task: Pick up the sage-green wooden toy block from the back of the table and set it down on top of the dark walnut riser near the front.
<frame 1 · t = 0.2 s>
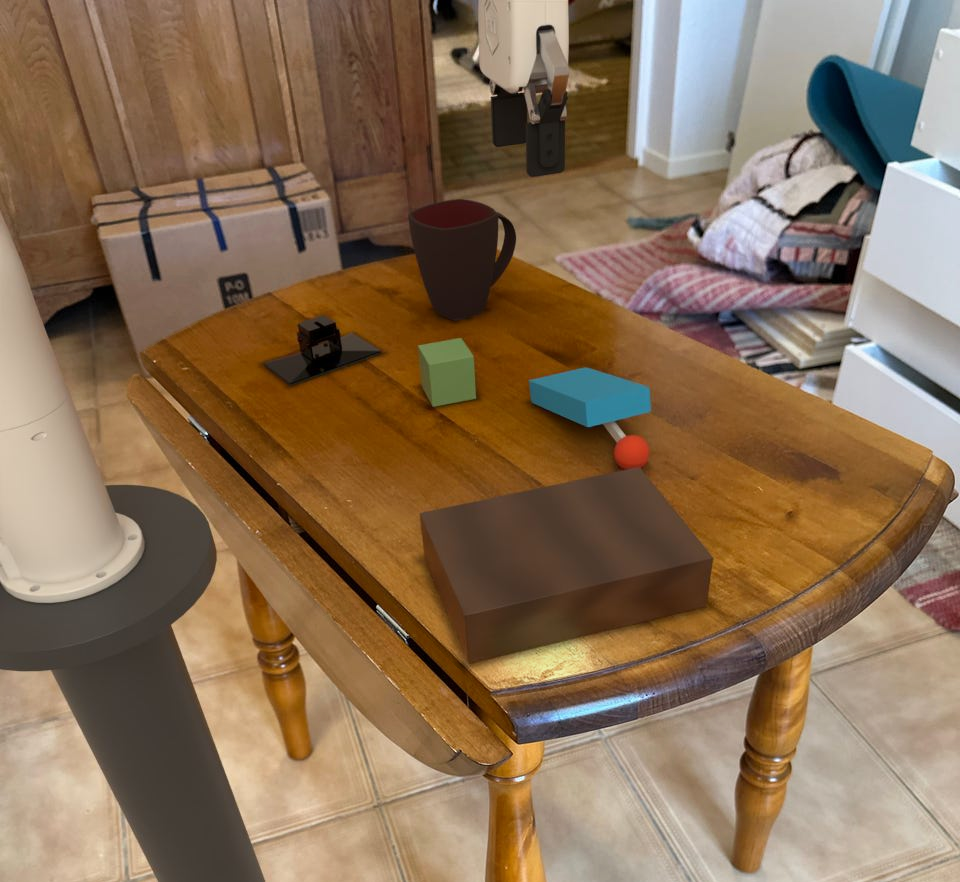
hand: (527, 158, 81), 26 cm above the table, tool pointing down, fingers open, 9 cm apart
cup: (471, 307, 121), on the table
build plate: (323, 360, 112), on the table
walnut riser: (559, 582, 78), on the table
lever: (595, 433, 96), on the table
green toy block: (448, 392, 104), on the table
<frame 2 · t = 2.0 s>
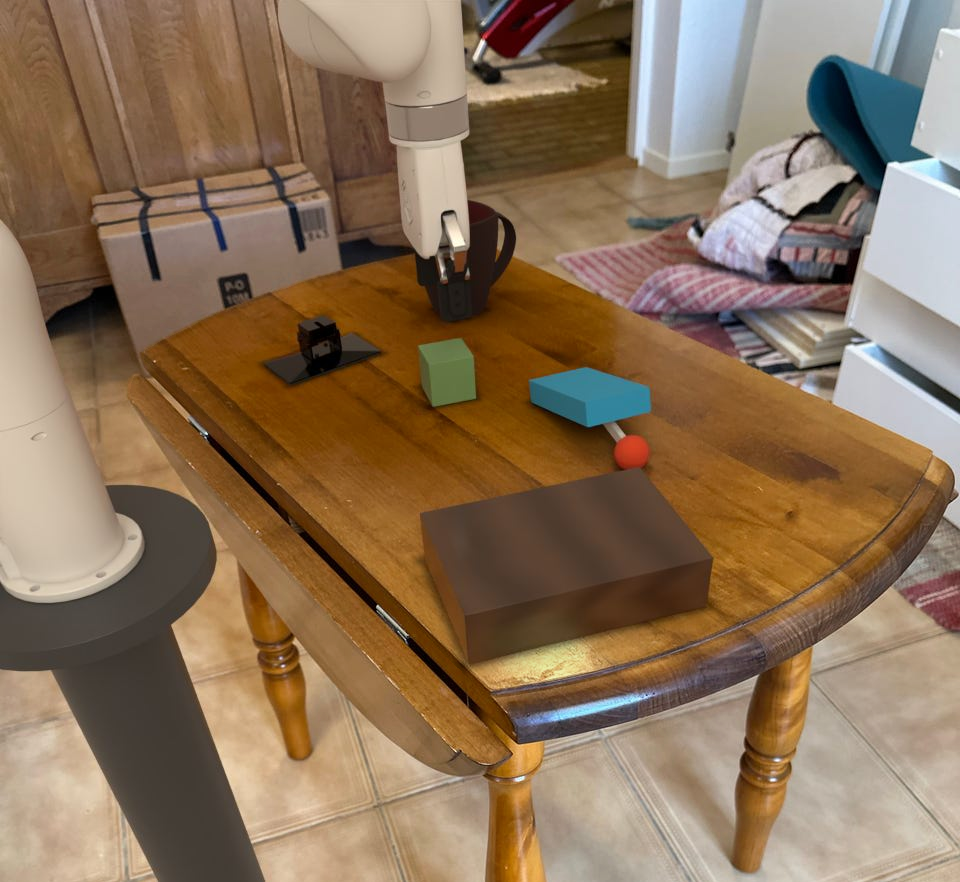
hand: (444, 300, 97), 10 cm above the table, tool pointing down, fingers open, 9 cm apart
nothing on the table moved.
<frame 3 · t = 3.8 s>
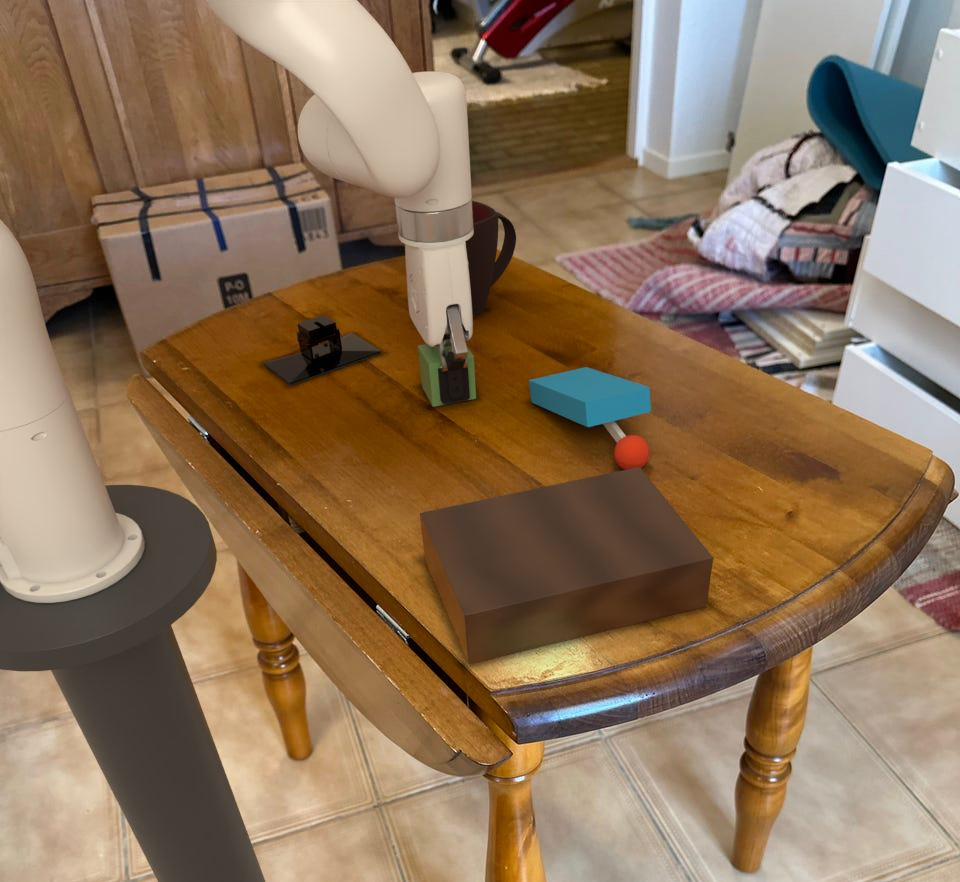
hand: (448, 387, 103), 1 cm above the table, tool pointing down, fingers closed on green toy block, 5 cm apart
green toy block: (448, 392, 104), on the table, touching gripper
everything else where it was.
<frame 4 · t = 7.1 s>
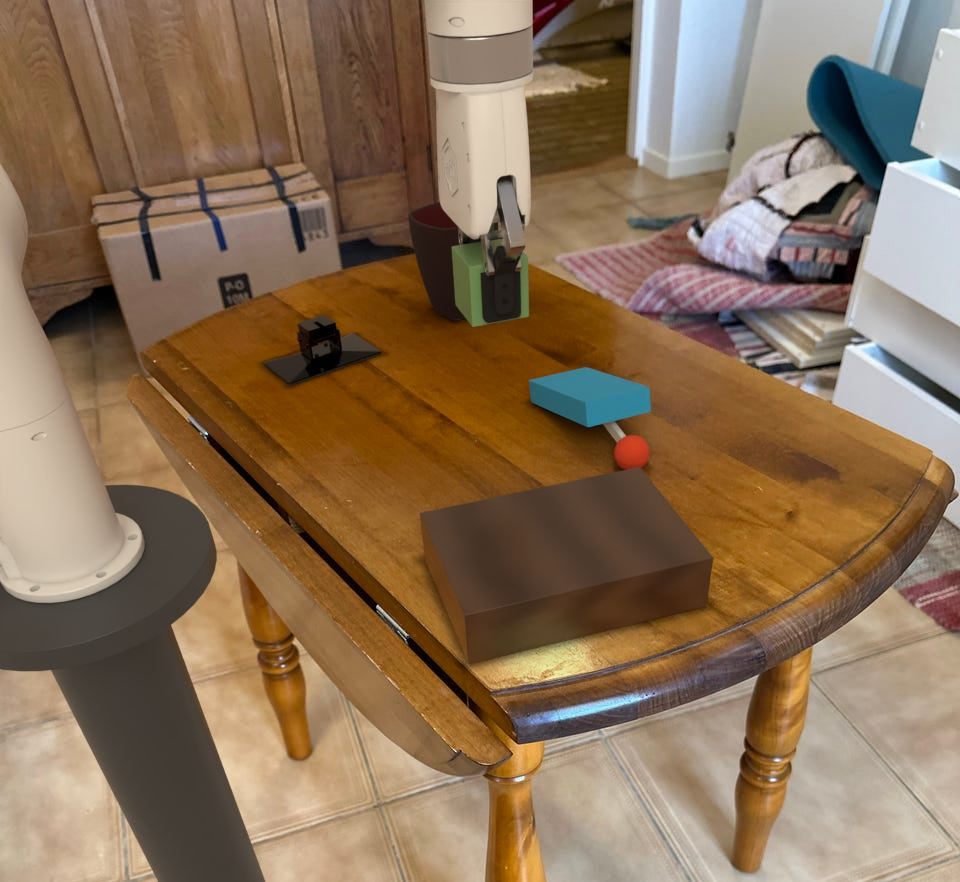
hand: (490, 303, 79), 17 cm above the table, tool pointing down, fingers closed on green toy block, 5 cm apart
green toy block: (491, 311, 79), point 17 cm above the table, touching gripper
everything else where it was.
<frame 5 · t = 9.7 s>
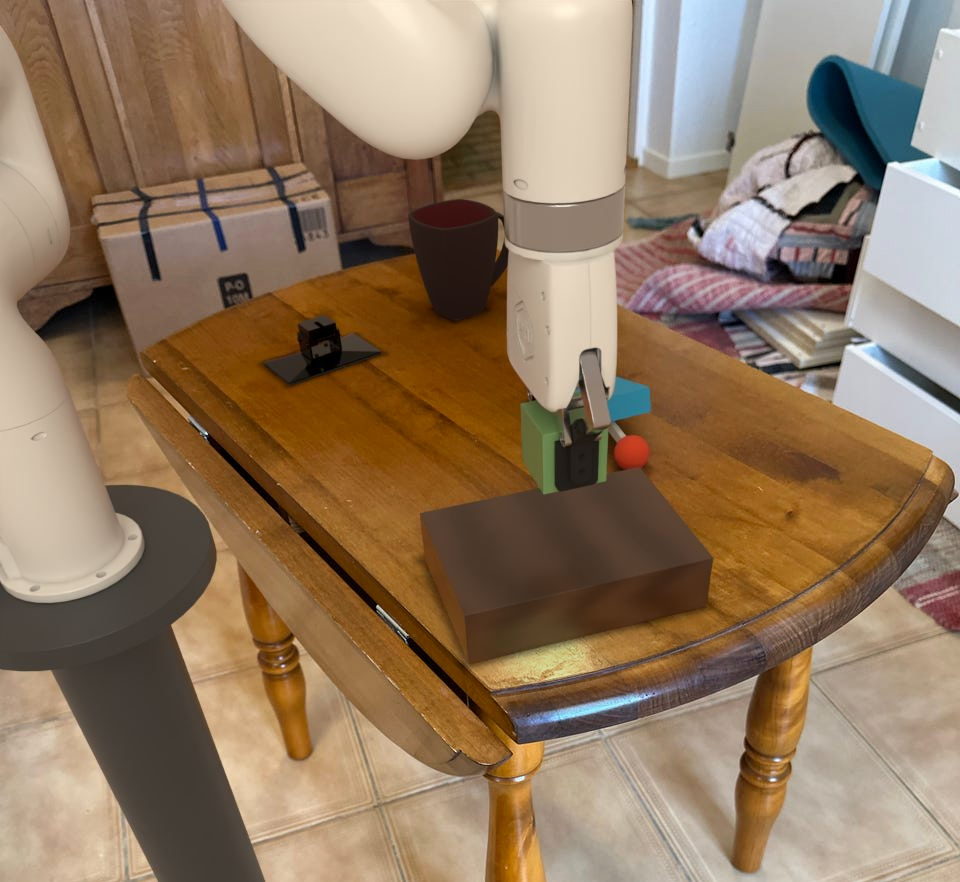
hand: (562, 464, 70), 12 cm above the table, tool pointing down, fingers closed on green toy block, 5 cm apart
green toy block: (563, 471, 71), point 11 cm above the table, touching gripper
everything else where it was.
when the fingers open (6 cm above the table, at t = 11.6 s): green toy block stays where it is, resting on walnut riser.
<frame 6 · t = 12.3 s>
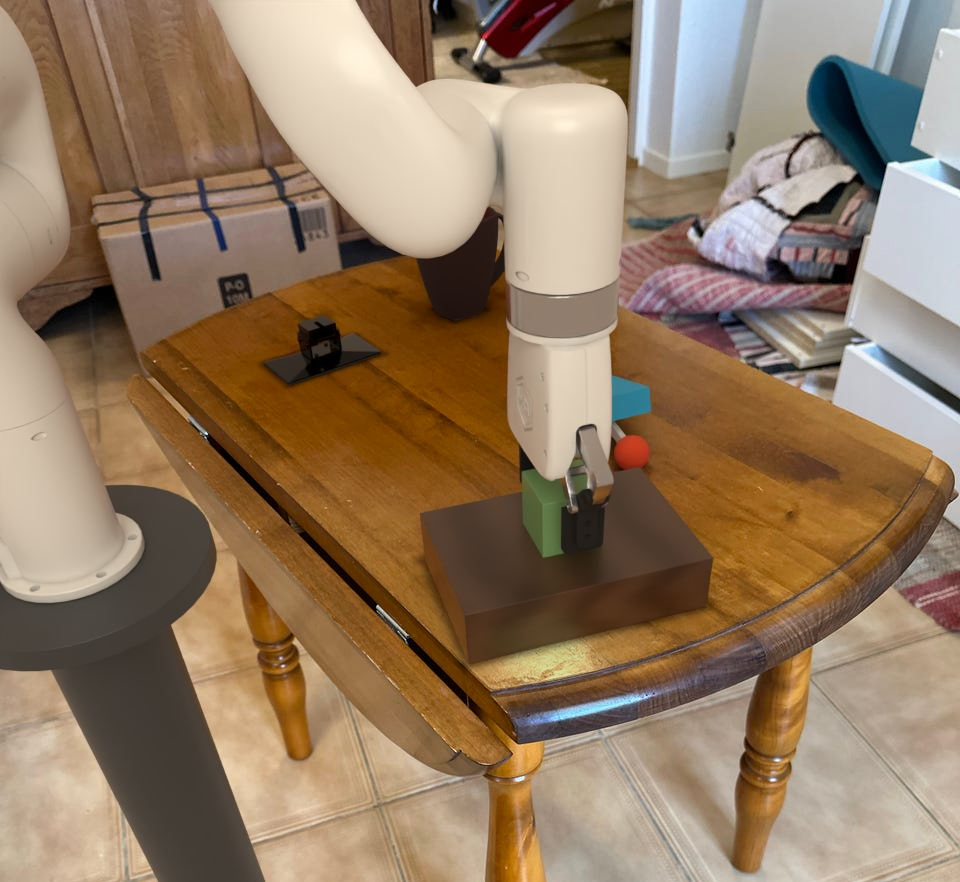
hand: (559, 513, 73), 7 cm above the table, tool pointing down, fingers open, 9 cm apart
green toy block: (561, 534, 75), point 5 cm above the table, touching walnut riser
everything else where it was.
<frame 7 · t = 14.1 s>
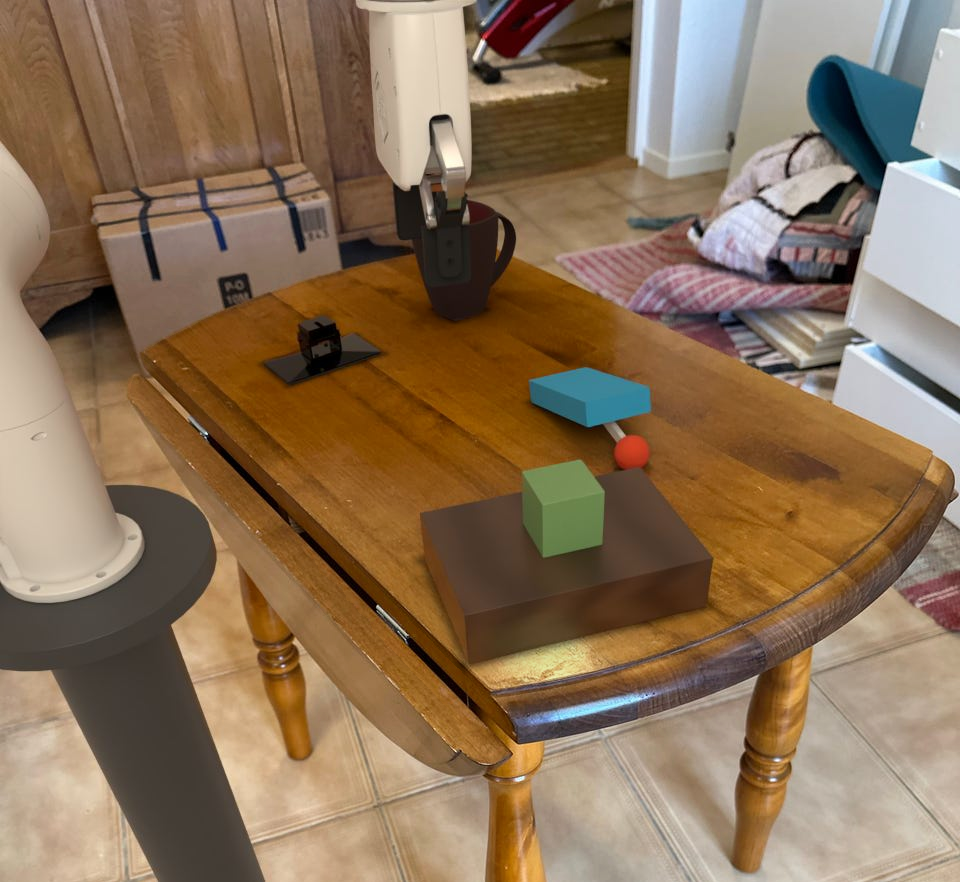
hand: (432, 259, 68), 24 cm above the table, tool pointing down, fingers open, 9 cm apart
nothing on the table moved.
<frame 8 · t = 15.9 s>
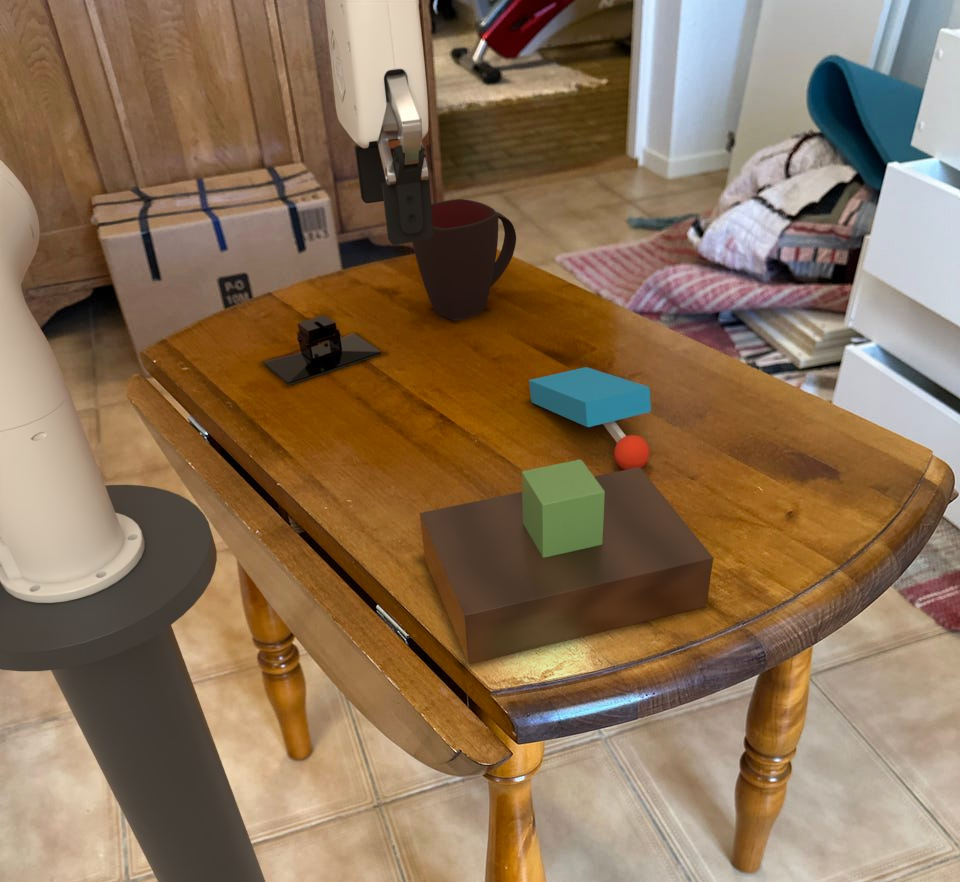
hand: (396, 219, 69), 26 cm above the table, tool pointing down, fingers open, 9 cm apart
nothing on the table moved.
at the end: green toy block inside the target area on the walnut riser (0.1 cm from its centre), point 5.0 cm above the walnut riser's base; green toy block tilted 0°; the gripper is holding nothing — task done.
